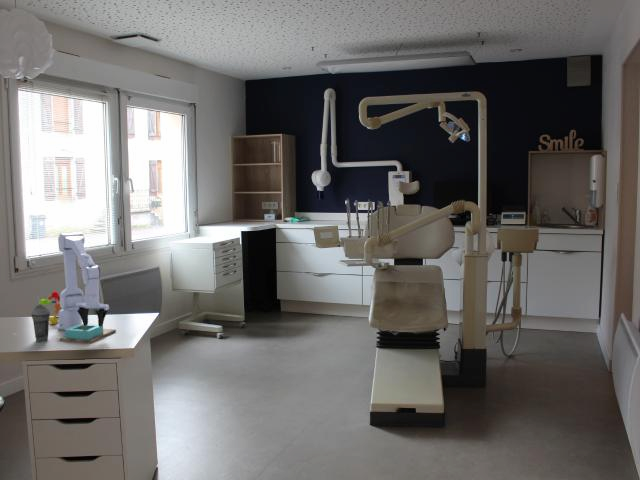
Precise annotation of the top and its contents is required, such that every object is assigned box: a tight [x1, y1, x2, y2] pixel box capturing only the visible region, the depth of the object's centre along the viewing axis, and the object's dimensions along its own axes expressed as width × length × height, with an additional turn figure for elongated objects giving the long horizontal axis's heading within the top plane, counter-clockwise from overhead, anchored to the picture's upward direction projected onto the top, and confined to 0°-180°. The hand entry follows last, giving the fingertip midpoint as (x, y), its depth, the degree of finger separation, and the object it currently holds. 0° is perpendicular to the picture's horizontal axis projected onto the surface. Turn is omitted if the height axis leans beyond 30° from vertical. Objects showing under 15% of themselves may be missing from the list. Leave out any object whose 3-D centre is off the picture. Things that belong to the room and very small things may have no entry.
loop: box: [64, 323, 104, 340], centre depth 274 cm, size 11×11×4 cm
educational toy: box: [39, 291, 62, 325], centre depth 304 cm, size 16×13×15 cm
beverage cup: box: [30, 293, 51, 343], centre depth 269 cm, size 7×7×20 cm
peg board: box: [59, 325, 117, 344], centre depth 277 cm, size 15×19×6 cm
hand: (93, 325), depth 273 cm, fingers open, 7 cm apart
